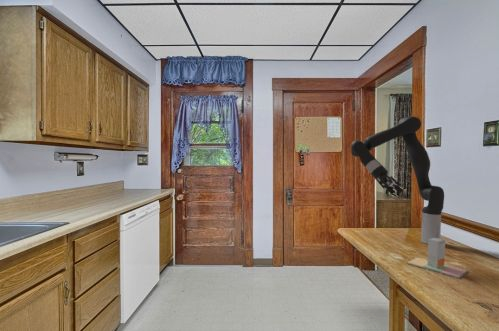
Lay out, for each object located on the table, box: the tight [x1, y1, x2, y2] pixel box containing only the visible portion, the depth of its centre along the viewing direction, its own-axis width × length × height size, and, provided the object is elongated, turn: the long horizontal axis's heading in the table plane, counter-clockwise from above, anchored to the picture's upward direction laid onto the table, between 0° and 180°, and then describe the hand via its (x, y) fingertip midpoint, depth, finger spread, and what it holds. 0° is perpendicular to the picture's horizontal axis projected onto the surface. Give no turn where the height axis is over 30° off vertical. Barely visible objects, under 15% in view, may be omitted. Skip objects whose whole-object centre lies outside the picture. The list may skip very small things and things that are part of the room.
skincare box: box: [426, 238, 446, 268], centre depth 126 cm, size 6×4×12 cm
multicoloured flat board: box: [406, 257, 469, 280], centre depth 126 cm, size 12×20×1 cm, turn 39°
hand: (397, 192), depth 146 cm, fingers open, 8 cm apart
